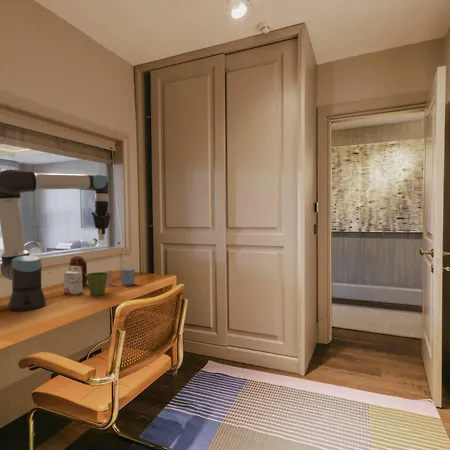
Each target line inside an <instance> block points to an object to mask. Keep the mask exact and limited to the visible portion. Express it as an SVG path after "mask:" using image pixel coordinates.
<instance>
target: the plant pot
mask: <svg viewBox="0 0 450 450" xmlns="http://www.w3.org/2000/svg"><path fill="white" fill-rule="evenodd" d="M108 274H109V273H107V272H104V271H103V272H98V271H97V272H90V273H89V272H88V273H87V274H86V275H85V276H86V277H87V285H88V289H89V294H90V295H91V296H92V297H93V296H95V297H96V296H99V295H100V296H102V295H104V294H105V293H106V287H107V286H106V279H107V275H108Z"/></svg>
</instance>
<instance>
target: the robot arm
mask: <svg viewBox="0 0 450 450" xmlns="http://www.w3.org/2000/svg"><path fill="white" fill-rule="evenodd" d="M109 185H110V181H109V176H108V175H104V174H73V173H72V174H71V173H70V174H66V173H64V174H63V173H36V172H35V171H33V170H32V171H31V170H30V171H29V170H18V169H3V170H1V171H0V231H1V237H2V243H3V251H4V252H3V253H2V254H1V256H0V257H1V264H0V272H1V274H2V276H3V277H4V278H6V279H8V280H10V281H11V284H12V285H11V288H12V290H11V291H12V292H11V294H10V295H11V296H10V298H9V301H8V304H7V310H8V311H11V312H25V311H31V310H36V309H39V308H43V307H45V306H46V305H47V300H46V298H45V295H44V292H43V288H42V259H41V258H40V257H38V256H34V255H30V251H29V250H27V249H26V247H25V240H24V232H23V226H22V225H23V223H22V217H21V212H20V203H19V202H20V201H21V200H22V199H23V198H22V193H31V192H34V193H35V192H36V191H37V190H84V191H93V192H94V195H95V196H94V207H95V210H94V211H93V212H91V215H92V218H93V223H94V227H95V229H98V231H97V232H98V233H97V235H98V240H99V241H104V240H105V234H106V229H109V225H110V221H111V216H112V214H113V213H112V212H110V211H109Z"/></svg>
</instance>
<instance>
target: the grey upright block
mask: <svg viewBox="0 0 450 450" xmlns="http://www.w3.org/2000/svg"><path fill="white" fill-rule="evenodd" d="M135 274H136V270H135V268H125V269H121V273H120V275H121V276H120V277H121V279H120V280H121V281H120V282H121V285H122V284H132V283H135V284H136V278H135V277H136V275H135Z"/></svg>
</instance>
